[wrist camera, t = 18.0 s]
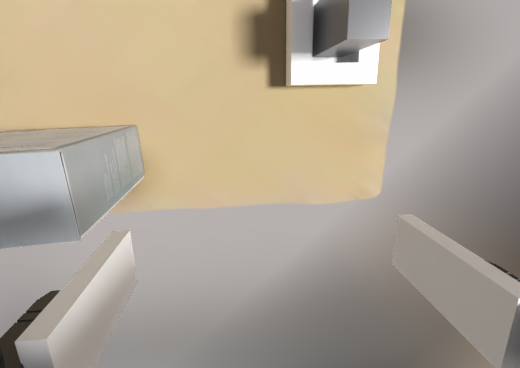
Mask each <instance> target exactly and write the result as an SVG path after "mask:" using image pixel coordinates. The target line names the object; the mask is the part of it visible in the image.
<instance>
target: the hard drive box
mask: <svg viewBox="0 0 520 368" xmlns="http://www.w3.org/2000/svg"><path fill="white" fill-rule="evenodd" d="M144 177H145V174H144V167H143V160H142V153H141V147H140V140H139V134H138V129H137V126H136V125H127V126H107V127H85V128H63V129H41V130H20V131H10V132H3V133H0V249H2V248H15V247H26V246H35V245H46V244H57V243H68V242H79V241H81V240H82V239H83V238H84V236H86V235H87V233H89V232H90V231H91V230H92V229H93V228H94V227H95V226H96V225H97V224H98V222H100V221H101V220H102V218H104V217H105V216H106V215H107V214H108V213H109V212H110V211H111V210H112V209H113V208H114V207H115V206H116V205H117V204H118V203H119V202H120V201H121V200H122V199H123V198H124V197H125V196H126V195H127V194H128V193H129V192H130V191H131V190H132V189H133V188H134V187H135V186H136V185H137V184H138V183H139V182H140V181H141V180H142V179H143V178H144Z"/></svg>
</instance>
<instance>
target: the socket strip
mask: <svg viewBox="0 0 520 368" xmlns="http://www.w3.org/2000/svg"><path fill="white" fill-rule="evenodd" d="M318 1H319V0H286V86H317V85H367V84H375V83H376V80H377V68H378V56H379V44H380V43H377V44H375V45H372V46H369V47H367V48H364V49H362V50H359V51H356V52H354V53H351V54H349V55H346V56H343V57H313V23H314V5H315V4H316V3H317V2H318Z"/></svg>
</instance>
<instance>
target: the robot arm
mask: <svg viewBox="0 0 520 368" xmlns="http://www.w3.org/2000/svg"><path fill="white" fill-rule="evenodd" d="M392 264H393V265H394V266H395V267H396V268H397V269H398V270H399V271H400V272H401V273H402V274H403V275H404V276H405V277H406V278H407V279H408V280H409V281H410V282H411V283H412V284H413V285H414V286H415V287H416V288H417V289H418V290H419V291H420V292H421V293H422V295H423V296H425V298H426V299H427V300H429V301H430V303H431V304H433V306H434V307H435V308H436V309H438V311H439V312H440V313H441V314H442V315H443V316H444V317H445V318H446V319H447V320H448V321H449V322H450V323H451V324H452V325H453V326H454V327H455V328H456V329H457V330H458V331H459V332H460V333H461V334H462V335H463V336H464V337H465V338H466V339H467V340H468V341H469V342H470V343H471V344H472V345H473V346H474V347H475V348H476V349H477V350H478V351H479V352H480V353H481V354H482V355H483V356H484V357H485V358H486V359H487V360H488V361H489V362H490V363H491V364H492V365H493V366H494V367H495V368H520V279H519V278H517V277H515V276H514V275H512V274H510V273H509V272H508V271H506V270H504V269H503V268H501V267H499V266H498V265H496V264H493V263H491V262H488V261H486V260H484V259H482V258H480V257H479V256H477V255H475V254H474V253H472V252H471V251H469V250H468V249H466V248H464V247H463V246H461V245H460V244H458V243H456V242H455V241H453V240H452V239H450V238H448V237H447V236H445V235H444V234H442V233H440V232H439V231H437V230H436V229H434V228H432V227H431V226H429V225H428V224H426V223H424V222H423V221H421V220H420V219H418V218H417V217H415V216H413V215H412V214H410V215H409V214H408V215H397V221H396V229H395V239H394V246H393V255H392ZM136 284H137V275H136V268H135V262H134V256H133V248H132V242H131V235H130V230H127V231H113V232H112V233H111V234H110V235H109V236H108V237H107V238H106V240H105V241H104V242H103V243H102V244H101V245H100V246H99V247H98V249H97V250H96V251H95V252H94V253H93V254H92V255H91V256H90V258H89V259H88V260H87V261H86V262H85V263H84V264H83V265H82V267H81V268H80V269H79V270H78V271H77V272H76V274H75V275H74V276H73V277H72V278H71V279H70V280H69V281H68V282H67V283H66V285H65V286H64V287H63V288H62V289H61V290H58V291H51V292H49V293H48V294H46V295H45V296H43V297H41V298H40V299H38V300H37V301H36V302H35V303H34V304H33V305H32V306H31V307H30V308H29V309H28V310H27V311H26V313H25V314H23V315H22V316H21V317H20V319H18V321H17V323H15V324H14V325H13V326H12V327H11V328H10V329H9V330H8V331H7V332H6V333H5V334H4V335H3V336H2V337H1V338H0V368H94V367H95V365H96V363H97V361H98V359H99V357H100V355H101V353H102V351H103V349H104V347H105V345H106V343H107V341H108V339H109V337H110V335H111V333H112V331H113V329H114V327H115V325H116V323H117V321H118V319H119V317H120V315H121V313H122V311H123V309H124V307H125V305H126V304H127V302H128V300H129V298H130V296H131V294H132V292H133V290H134V287H135V286H136Z"/></svg>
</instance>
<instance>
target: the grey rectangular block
mask: <svg viewBox="0 0 520 368" xmlns="http://www.w3.org/2000/svg"><path fill="white" fill-rule="evenodd" d="M391 4H392V0H319V1H318V2H317V3H316V4H315V5H314V23H313V57H343V56H346V55H349V54H351V53H354V52H356V51H359V50H362V49H364V48H367V47H369V46H372V45H375V44H377V43H380V42H383V41H385V40H388V37H389V26H390V15H391Z"/></svg>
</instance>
